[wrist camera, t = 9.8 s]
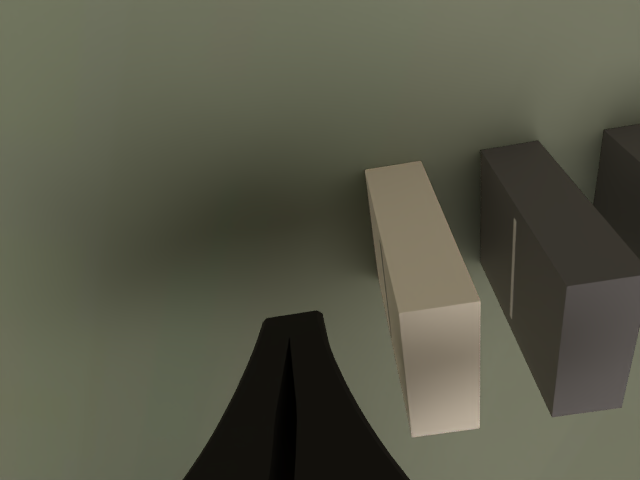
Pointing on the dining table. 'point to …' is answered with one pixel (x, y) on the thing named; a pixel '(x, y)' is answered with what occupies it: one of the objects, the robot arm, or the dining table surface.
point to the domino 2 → (559, 279)
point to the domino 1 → (426, 301)
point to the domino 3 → (620, 183)
